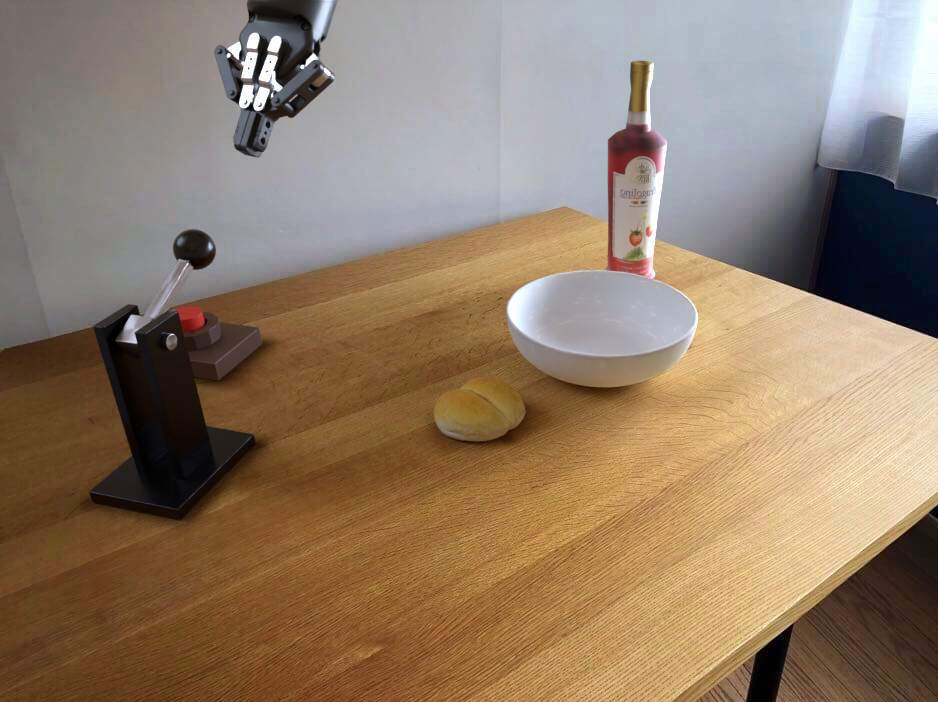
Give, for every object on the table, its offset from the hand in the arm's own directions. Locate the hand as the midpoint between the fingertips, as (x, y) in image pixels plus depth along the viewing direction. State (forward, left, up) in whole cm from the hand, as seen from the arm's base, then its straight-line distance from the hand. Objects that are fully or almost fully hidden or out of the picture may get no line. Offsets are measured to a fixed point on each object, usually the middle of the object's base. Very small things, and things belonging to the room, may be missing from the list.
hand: (246, 153), depth 81 cm
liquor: (+31, +36, -25) cm, 54 cm away
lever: (-1, -12, -10) cm, 16 cm away
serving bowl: (+32, +13, -25) cm, 43 cm away
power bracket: (-1, -18, -25) cm, 30 cm away
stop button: (-13, +2, -21) cm, 25 cm away
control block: (-13, +2, -25) cm, 28 cm away
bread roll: (+23, -2, -25) cm, 34 cm away
